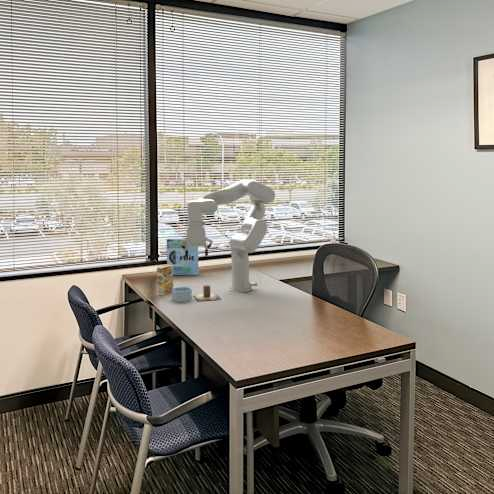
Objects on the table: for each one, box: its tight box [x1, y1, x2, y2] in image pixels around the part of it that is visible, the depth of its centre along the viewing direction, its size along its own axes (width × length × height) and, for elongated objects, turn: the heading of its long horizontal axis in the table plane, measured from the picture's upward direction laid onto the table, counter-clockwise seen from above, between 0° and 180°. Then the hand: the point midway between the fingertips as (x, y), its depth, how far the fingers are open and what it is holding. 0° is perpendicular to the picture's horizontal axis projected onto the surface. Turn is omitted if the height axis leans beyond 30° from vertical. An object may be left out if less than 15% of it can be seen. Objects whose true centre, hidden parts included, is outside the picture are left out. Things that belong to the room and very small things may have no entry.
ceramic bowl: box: [171, 286, 193, 303], centre depth 275 cm, size 10×10×6 cm
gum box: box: [166, 238, 199, 276], centre depth 338 cm, size 20×5×23 cm, turn 85°
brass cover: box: [195, 284, 220, 302], centre depth 278 cm, size 12×12×6 cm
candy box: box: [156, 264, 174, 297], centre depth 289 cm, size 9×4×15 cm, turn 150°
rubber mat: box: [192, 293, 223, 303], centre depth 279 cm, size 13×13×1 cm
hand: (196, 257), depth 276 cm, fingers open, 9 cm apart
